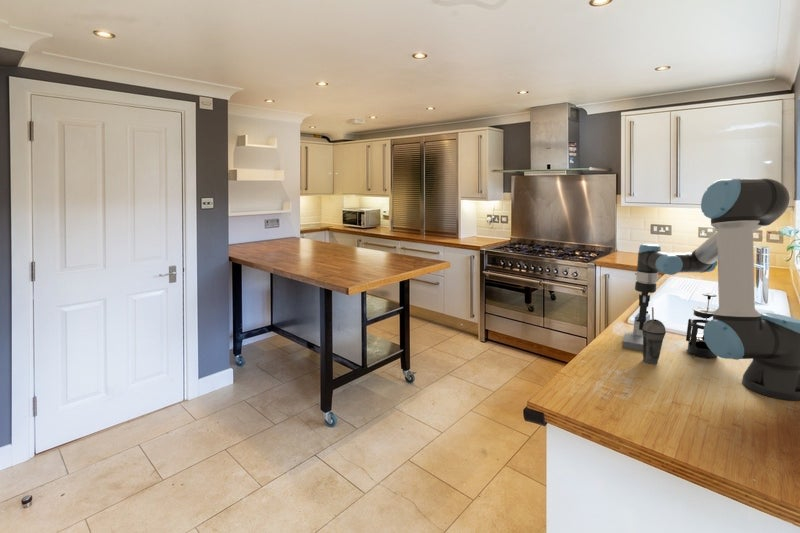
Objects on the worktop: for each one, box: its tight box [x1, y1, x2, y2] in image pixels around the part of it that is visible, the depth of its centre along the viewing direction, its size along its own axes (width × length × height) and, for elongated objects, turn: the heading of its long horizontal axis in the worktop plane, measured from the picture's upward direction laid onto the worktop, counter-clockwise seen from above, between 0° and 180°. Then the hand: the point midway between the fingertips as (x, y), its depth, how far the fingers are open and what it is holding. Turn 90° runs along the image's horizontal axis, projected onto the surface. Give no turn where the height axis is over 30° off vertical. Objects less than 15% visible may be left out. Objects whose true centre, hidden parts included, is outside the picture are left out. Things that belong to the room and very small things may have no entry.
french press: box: [685, 292, 718, 360], centre depth 159 cm, size 12×9×23 cm
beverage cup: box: [642, 307, 667, 365], centre depth 152 cm, size 7×7×20 cm
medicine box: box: [632, 312, 651, 335], centre depth 179 cm, size 8×4×9 cm, turn 141°
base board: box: [622, 333, 643, 352], centre depth 168 cm, size 10×11×3 cm
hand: (640, 332), depth 180 cm, fingers open, 11 cm apart
